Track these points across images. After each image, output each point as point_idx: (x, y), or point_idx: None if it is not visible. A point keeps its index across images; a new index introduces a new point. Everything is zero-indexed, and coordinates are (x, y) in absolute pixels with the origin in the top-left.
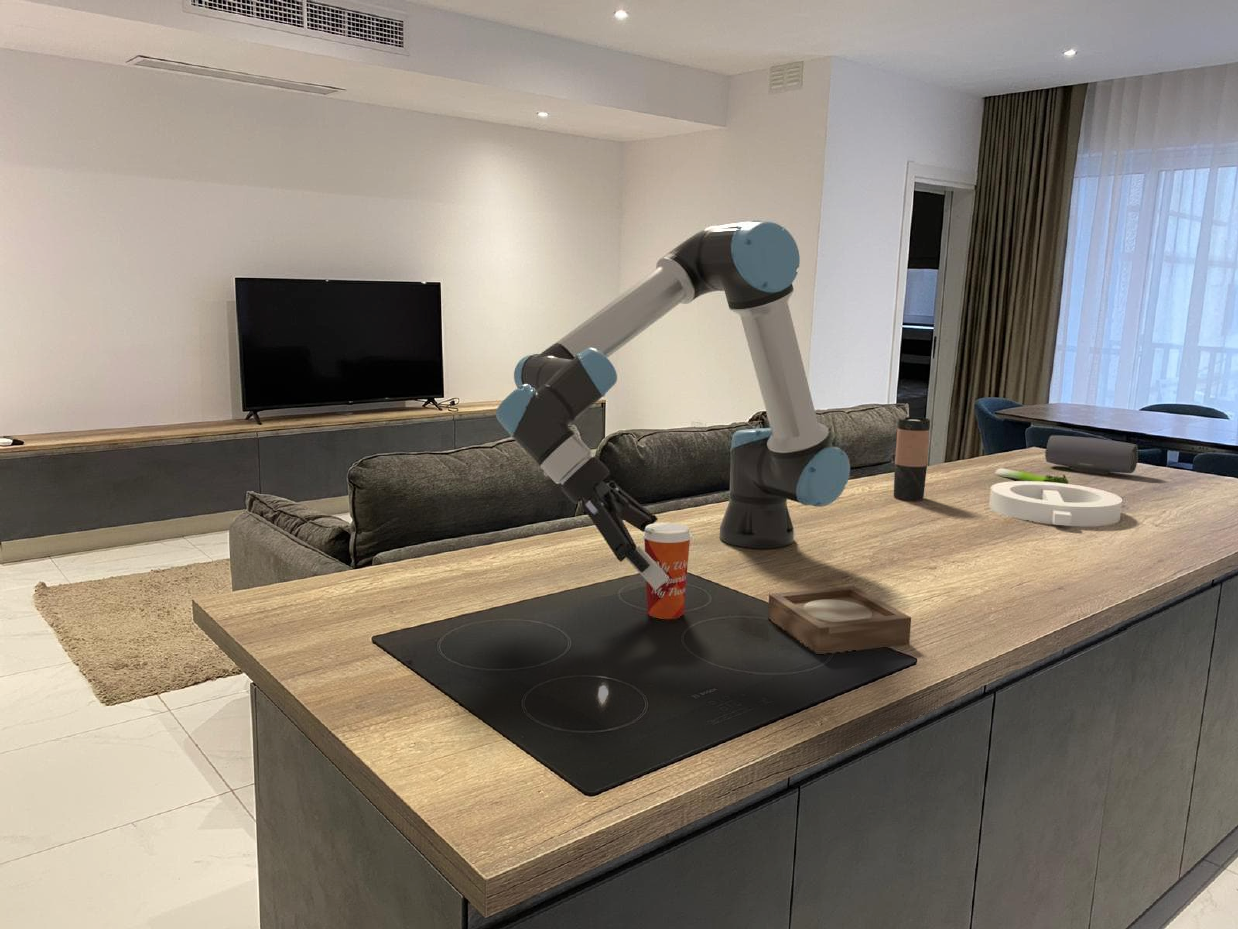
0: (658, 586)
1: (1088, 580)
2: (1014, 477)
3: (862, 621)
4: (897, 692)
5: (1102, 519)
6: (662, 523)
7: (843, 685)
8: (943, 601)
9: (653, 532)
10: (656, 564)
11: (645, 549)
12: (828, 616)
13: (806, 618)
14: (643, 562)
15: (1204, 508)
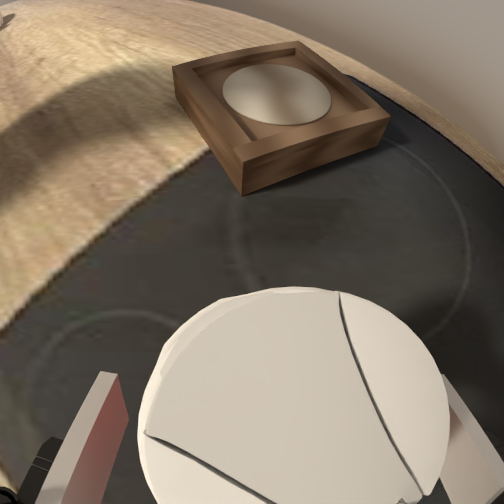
0: None
1: (103, 2)
2: None
3: (337, 73)
4: (426, 106)
5: (2, 19)
6: (185, 494)
7: (440, 140)
8: (144, 42)
9: (431, 490)
10: (462, 416)
11: None
12: (310, 101)
13: (360, 122)
14: (500, 445)
15: (3, 7)
